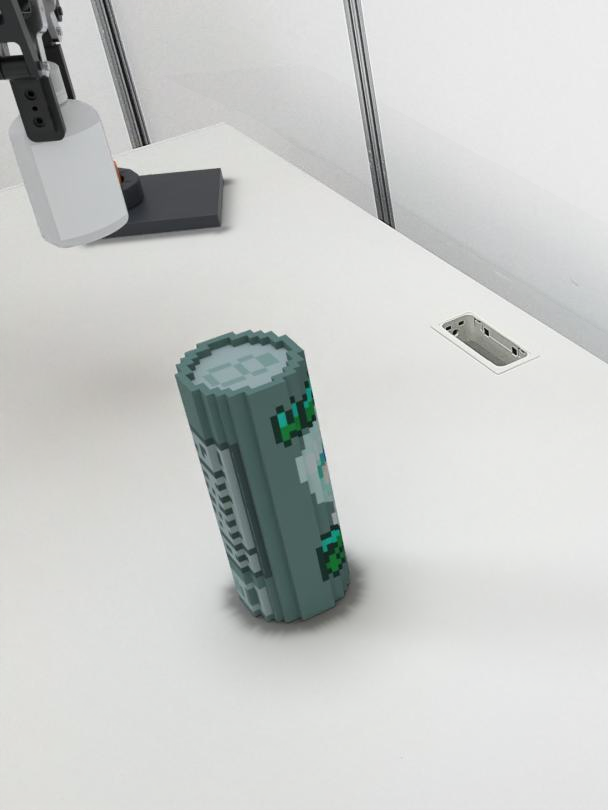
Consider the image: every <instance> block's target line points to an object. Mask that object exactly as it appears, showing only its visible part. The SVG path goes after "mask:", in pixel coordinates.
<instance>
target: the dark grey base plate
mask: <svg viewBox="0 0 608 810" xmlns="http://www.w3.org/2000/svg"><path fill="white" fill-rule="evenodd" d="M117 167H118V166H117ZM118 171H119V174H120V178H121V181H122V183H121V184H120V186H121V190H122V193H123V197H124V201H125V204H126V208H127V211H128V221H127V223H126V224H125V225H124V226H122V227H121V228H120V229H118V230H117V231H115V232H113V233H112V234H110V235H108V236H106V237H103V238H101V239H100V240H104V239H112V238H113V239H114V238H115V239H116V238H124V237H133V236H142V235H151V234H152V235H154V234H162V233H172V232H181V231H182V232H183V231H191V230H201V229H202V230H203V229H210V228H221V225H222V211H223V192H224V176H223V171H222V168H221V167H215V168H205V169H204V168H203V169H193V170H183V171H174V172H173V171H172V172H163V173H153V174H151V173H150V174H141V175H140V174H139V173H137V172H135V170H132V169H131V168H127V167H126V168H124V167H118Z"/></svg>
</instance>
